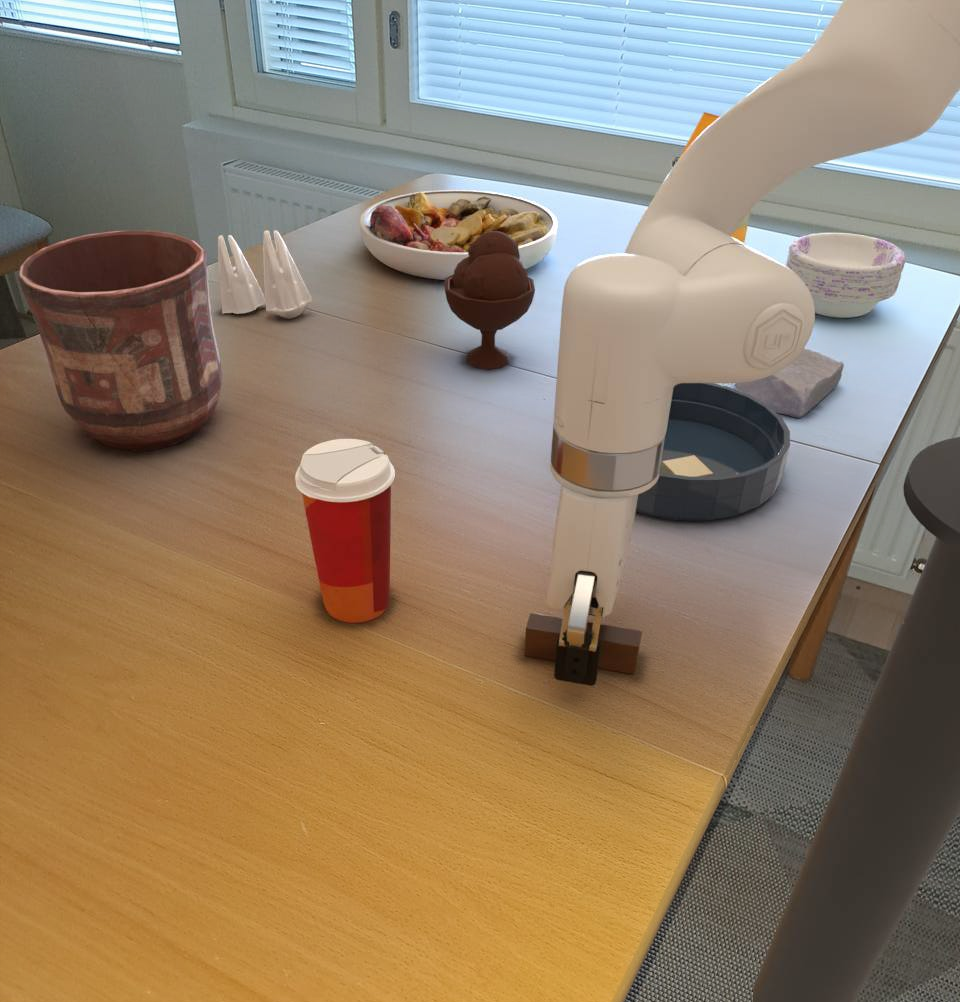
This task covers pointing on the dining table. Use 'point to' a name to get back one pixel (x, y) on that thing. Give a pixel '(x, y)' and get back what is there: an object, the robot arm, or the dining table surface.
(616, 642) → the brown wooden stick
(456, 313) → the ice cream bowl
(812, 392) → the stone block
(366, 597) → the paper cup
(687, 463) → the block
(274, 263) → the shaker set
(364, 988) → the dining table surface
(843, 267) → the paper bowls
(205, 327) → the pottery
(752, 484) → the bowl
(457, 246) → the bowl
